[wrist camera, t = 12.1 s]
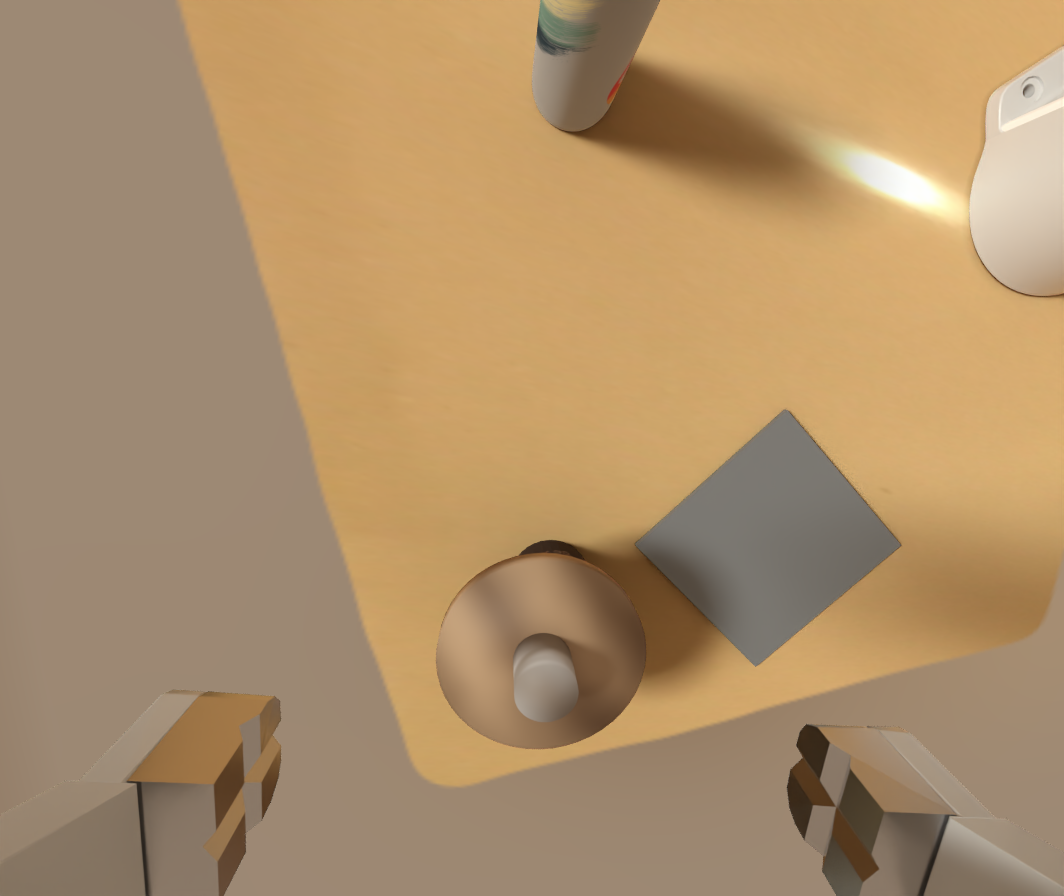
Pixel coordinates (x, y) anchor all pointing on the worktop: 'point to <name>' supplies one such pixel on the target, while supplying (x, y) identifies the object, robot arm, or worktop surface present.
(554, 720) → the wooden lid
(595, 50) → the lotion bottle
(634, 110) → the worktop surface
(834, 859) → the robot arm
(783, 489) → the rubber mat
